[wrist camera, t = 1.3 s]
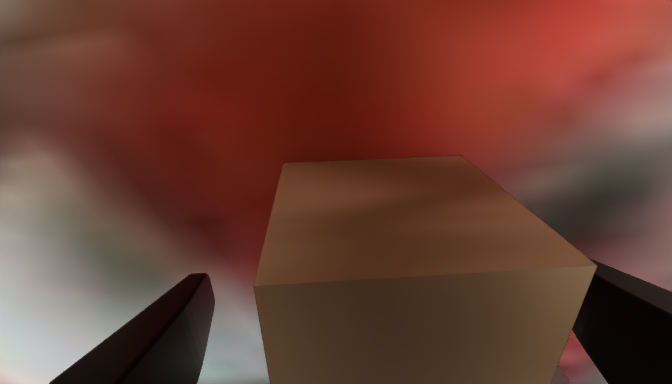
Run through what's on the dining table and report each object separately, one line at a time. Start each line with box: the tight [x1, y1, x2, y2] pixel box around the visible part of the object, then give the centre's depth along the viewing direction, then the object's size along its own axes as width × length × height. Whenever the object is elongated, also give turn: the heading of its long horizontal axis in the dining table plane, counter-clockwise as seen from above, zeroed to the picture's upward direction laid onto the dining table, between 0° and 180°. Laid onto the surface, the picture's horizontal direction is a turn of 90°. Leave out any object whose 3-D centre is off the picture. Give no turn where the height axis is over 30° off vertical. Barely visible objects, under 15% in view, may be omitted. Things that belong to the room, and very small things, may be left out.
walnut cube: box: [254, 155, 597, 384], centre depth 8 cm, size 5×5×5 cm
